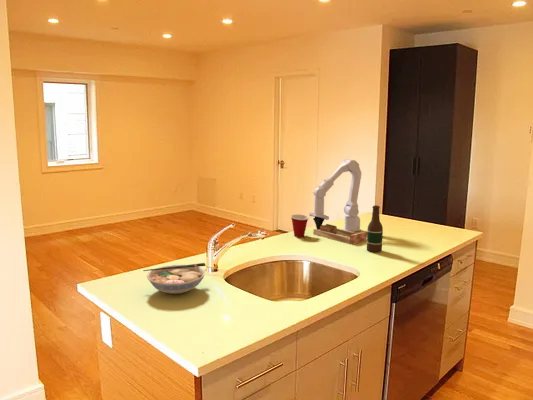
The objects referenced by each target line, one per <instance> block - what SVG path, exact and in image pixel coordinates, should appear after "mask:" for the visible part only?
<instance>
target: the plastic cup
mask: <svg viewBox="0 0 533 400" xmlns="http://www.w3.org/2000/svg"><path fill="white" fill-rule="evenodd" d="M290 218H291V223H292V229H293V235H294V237H295V238H296V237H297V238H303V237H305V233H306V230H307V229H306V228H307V223H308V221H309V218H310V216H308V215H305V214H292V215H290Z"/></svg>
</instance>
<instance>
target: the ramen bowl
mask: <svg viewBox="0 0 533 400" xmlns="http://www.w3.org/2000/svg"><path fill="white" fill-rule="evenodd" d="M206 266H207V265H206V262H200V263H193V264H191V263H190V264H170V265H164V266H159V267H157V268H151V269H143V270H142V271H143V272H148V271H149V272H148V273H147V274H146V278H147V280H148V281H149V282H150V284H151V285H152V286H153V287H154V289H155V290H157V291H160V292H162V293H166V294H170V295H181V294H184V293H186V292H189V291H192V290H194V289H195V288H196V287H197V286H199V285H200V284H201V282H202V280H203V279H204V278H205V275H206V270H204V268H202V267H206Z"/></svg>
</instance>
